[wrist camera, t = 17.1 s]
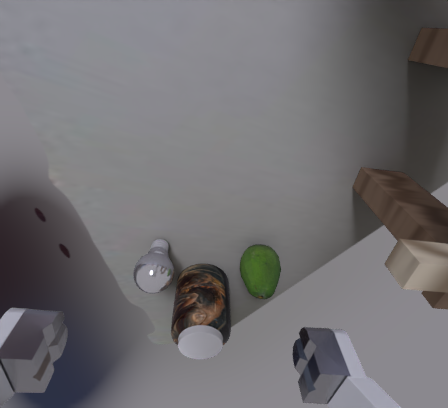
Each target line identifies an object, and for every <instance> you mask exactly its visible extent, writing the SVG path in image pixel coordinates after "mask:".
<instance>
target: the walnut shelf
mask: <svg viewBox="0 0 448 408" xmlns="http://www.w3.org/2000/svg"><path fill="white" fill-rule="evenodd" d="M408 60H410V61H415V62H420V63H425V64H430V65H435V66H440V67H445V68H448V29H442V28H422V29H421V31H420V33H419V35H418V38H417V40H416V42H415V45H414V47H413V49H412V52H411V54H410V56H409V58H408ZM353 188H354V189H355V191H356V192H357V193H358V194H359V195H360V197H361V198H362V199H363V200H364V201H365V203H366V204H367V205H368V206H369V207H370V209H371V210H372V211H373V212H374V213H375V214H376V216H377V217H378V218H379V219H380V220H381V222H382V223H383V224H384V225H385V226H386V228H387V229H388V230H389V231H390V232H391V234H392V235H393V236H394V237H395V238H396V239H397V241H398V240H399V239H406V240H416V241H426V242H436V243H446V244H448V207H446V206H445V205H444V204H442V203H441V202H440V201H439V200H437V199H436V198H435V197H434V196H432V195H431V194H430V193H429V192H427V191H426V190H425V189H424V188H422V187H421V186H420V185H419V184H417V183H416V182H415V181H414V180H412V179H411V178H410V177H408V176H407V175H406V174H405V173H403V172H395V171H387V170H379V169H371V168H363V167H361V169H360V171H359V174H358V176H357V178H356V180H355V183H354V185H353ZM422 294H423V296H424V297H425V298H426V300H427V301H428V302H429V304H430V305H431V306H432V308H437V309H448V293H445V292H433V291H423V292H422Z"/></svg>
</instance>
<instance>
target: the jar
mask: <svg viewBox="0 0 448 408" xmlns="http://www.w3.org/2000/svg"><path fill="white" fill-rule="evenodd" d="M230 330H231V320H230V299H229V283H228V278H227V276H226V274H225V273H224V271H222V270H221V269H220V268H218V267H216V266H214V265H210V264H196V265H193V266H190V267H188V268H186V269H185V270H184V271H182V273H181V274H180V275H179V277H178V281H177V287H176V294H175V301H174V308H173V316H172V326H171V335H172V338H173V341H174V342H175V343H176V344H177V345H178V349H179V351H180V352H181V353H182V354H183V355H184V356H186V357H188V358H192V359H197V360H201V359H209V358H212V357H214V356H216V355H217V354H219V353H220V351H221V350H222V347H223V345H224V344H225V343H226V342H227V341H228V339H229V336H230Z"/></svg>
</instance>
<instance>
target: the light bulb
mask: <svg viewBox="0 0 448 408" xmlns="http://www.w3.org/2000/svg"><path fill="white" fill-rule="evenodd" d="M168 249H169V245H168V243H167V242H166V241H165V240H161V239H158V240H155V241H154V242H153V243H152V246H151V249H150V250H149V252H148V254H146V255H144V256H143V257H141V258H140V259H139V260H138V262H137V263H136V265H135V268H134V272H133V276H134V281H135V283H136V285H137V286H138V287H139V289H141V290H142V291H144V292H146V293H151V294H153V293H159V292H161V291H163V290H165V289H166V288H167V287H168V286H169V285H170V284H171V282H172V280H173V277H174V267H173V264H172V262H171V260H170V259H169V256H168Z"/></svg>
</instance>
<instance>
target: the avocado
mask: <svg viewBox="0 0 448 408" xmlns="http://www.w3.org/2000/svg"><path fill="white" fill-rule="evenodd" d="M240 272H241V277H242V279H243V281H244V283H245V285H246V287H247V289H248V291H249V293H250V294H251V295H252V296H254V297H256V298H259V299H267V298H269V297H271V296H272V295H273V294H274V292H275V289H276V287H277V284H278V281H279V277H280V272H281V267H280V261H279V257H278V255H277V254H276V252H275V251H274V250H273V249H272V248H271V247H269V246H266V245H253V246H250V247H249V248H248V249H246V251H245V252H244V254H243V255H242V258H241V262H240Z"/></svg>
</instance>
